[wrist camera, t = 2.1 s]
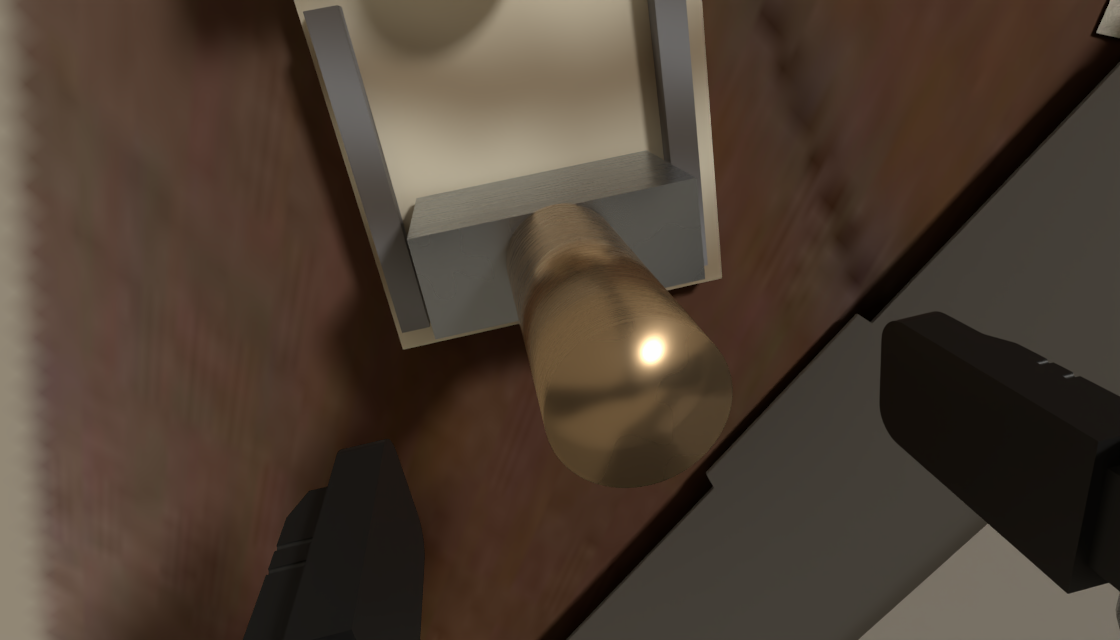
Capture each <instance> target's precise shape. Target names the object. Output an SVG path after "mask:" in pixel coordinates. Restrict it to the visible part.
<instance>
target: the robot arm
mask: <svg viewBox="0 0 1120 640" xmlns="http://www.w3.org/2000/svg"><path fill="white" fill-rule="evenodd" d="M879 407H880V413H881V418H882V421H883V423H884V426H885V428H886V430H887V432H888V433H889V435H890V436H891V438H892V439H893V440H894V441H895V442H896V443H897V444H898V445H899V446H900V447H901V448H903V449H904V450H905V451H906V452H907V453H908V454H909V455H910V456H912V457H913V458H914V459H915V460H916V461H917V462H918V463H920V464H921V465H922V466H923V467H924V468H925V469H926V470H927V471H929V472H930V473H931V474H932V475H933V476H934V477H935V478H937V479H938V480H939V481H940V482H941V483H942V484H943V485H945V486H946V487H947V488H948V489H949V490H950V491H951V492H952V493H954V494H955V495H956V496H957V497H958V498H959V499H960V500H962V501H963V502H964V503H965V504H966V505H967V506H968V507H969V508H971V509H972V510H973V511H974V512H975V513H976V514H977V515H979V516H980V517H981V518H982V519H983V520H984V521H985V522H987V523H988V524H989V525H990V526H991V527H992V528H993V529H994V530H996V531H997V532H998V533H999V534H1000V535H1001V536H1002V537H1004V538H1005V539H1006V540H1007V541H1008V542H1009V543H1010V544H1011V545H1013V546H1014V547H1015V548H1016V549H1017V550H1018V551H1019V552H1021V553H1022V554H1023V555H1024V556H1025V557H1026V558H1027V559H1029V560H1030V561H1031V562H1032V563H1033V564H1034V565H1035V566H1036V567H1038V568H1039V569H1040V570H1041V571H1042V572H1043V573H1044V574H1046V575H1047V576H1048V577H1049V578H1050V579H1051V580H1052V581H1053V582H1055V583H1056V584H1057V585H1058V586H1059V587H1060V588H1061V589H1063V590H1064V591H1065V592H1066V593H1067V594H1070V593H1074V592H1077V591H1081V590H1085V589H1088V588H1092V587H1096V586H1099V585H1103V584H1107V583H1110V584H1111V585H1112V586H1113V587H1115V588H1116V589H1117V590H1118V591H1119V592H1120V396H1118V395H1116V394H1114V393H1112V392H1110V391H1108V390H1106V389H1105V388H1103V387H1101V386H1099V385H1097V384H1095V383H1093V382H1091V381H1089V380H1087V379H1085V378H1083V377H1081V376H1078V377H1075V376H1074V374H1073V372H1072V371H1070V370H1068V369H1066V368H1064V367H1062V366H1060V365H1058V364H1056V363H1054V362H1052V363H1048V361H1047V359H1046V358H1044V357H1042V356H1041V355H1039V354H1037V353H1035V352H1033V351H1031V350H1029V349H1027V348H1025V347H1023V346H1021V345H1019V344H1017V343H1014V342H1011V341H1007V340H1004V339H1000V338H996V337H993V336H989V335H985V334H982V333H980V332H979V331H977V330H975V329H973V328H971V327H969V326H967V325H965V324H963V323H962V322H960V321H958V320H956V319H954V318H952V317H950V316H948V315H947V314H945V313H942V312H939V311H933V312H929V313H925V314H920V315H916V316H912V317H908V318H903V319H899V320H895V321H891V322H889V323H888V324H886V326H885V327H884V329H883V332H882V338H881V367H880V399H879ZM424 560H425V552H424V541H423V534H422V529H421V524H420V520H419V517H418V514H417V511H416V508H415V505H414V502H413V499H412V496H411V493H410V490H409V487H408V484H407V481H406V479H405V476H404V473H403V470H402V467H401V464H400V461H399V458H398V455H397V452H396V449H395V447H394V445H393V443H392V442H391V440H389V439H384V440H380V441H376V442H371V443H367V444H363V445H359V446H354V447H350V448H346V449H342V450H340V451H339V452H338V453H337V456H336V459H335V463H334V466H333V470H332V473H331V477H330V480H329V484H328V487H324V488H320V489H316V490H312V491H309V492H308V493H307V494H306V495H305V497H304V498H303V499H302V500H301V501H300V503H299V504H298V505H297V506H296V507H295V508H294V510H293V511H292V512H291V513H290V514H289V516H288V517H287V518H286V521H285V524H284V527H283V529H282V532H281V535H280V538H279V540H278V543H277V551H275V552H274V554H273V557H272V560H271V563H270V566H269V568H268V570H269V575H266V577H265V580H264V582H263V585H262V588H261V591H260V594H259V596H258V599H257V602H256V605H255V608H254V610H253V613H252V616H251V619H250V621H249V624H248V627H247V630H246V633H245V635H244V638H243V640H420V631H421V613H422V596H423V578H424ZM1116 617H1117V621H1118V625H1119V629H1120V593H1119V597H1118V601H1117V605H1116Z"/></svg>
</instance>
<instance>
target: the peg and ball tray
mask: <svg viewBox="0 0 1120 640" xmlns="http://www.w3.org/2000/svg"><path fill="white" fill-rule="evenodd" d="M294 2H295V6H296V9H297V12H298V15H299V18H300V22H301V25H302V28H303V31H304V34H305V38H306V41H307V44H308V47H309V50H310V54H311V57H312V60H313V63H314V66H315V70H316V73H317V76H318V79H319V82H320V86H321V89H322V92H323V95H324V98H325V102H326V105H327V108H328V111H329V114H330V118H331V121H332V124H333V127H334V130H335V134H336V137H337V140H338V143H339V146H340V150H341V153H342V156H343V159H344V162H345V166H346V169H347V172H348V175H349V178H350V182H351V185H352V188H353V191H354V194H355V198H356V201H357V204H358V207H359V210H360V214H361V217H362V220H363V223H364V226H365V230H366V233H367V236H368V239H369V242H370V246H371V249H372V252H373V255H374V258H375V262H376V265H377V268H378V271H379V274H380V278H381V281H382V284H383V287H384V290H385V294H386V297H387V300H388V303H389V306H390V310H391V313H392V316H393V319H394V322H395V326H396V329H397V332H398V335H399V338H400V342H401V345H402V348H403V350H404V349H409V348H413V347H418V346H422V345H427V344H431V343H435V342H440V341H444V340H449V339H453V338H458V337H462V336H467V335H471V334H476V333H480V332H484V331H489V330H493V329H498V328H502V327H507V326H511V325H516V324H520V323H519V321H516V322H511V323H507V324H502V325H498V326H493V327H489V328H484V329H480V330H475V331H471V332H467V333H462V334H458V335H453V336H449V337H444V338H440V339H435V336H434V333H433V329H432V326H431V322H430V319H429V315H428V312H427V308H426V305H425V301H424V298H423V294H422V291H421V287H420V284H419V280H418V277H417V273H416V270H415V266H414V263H413V259H412V256H411V252H410V249H409V245H408V242H407V237H408V232H409V228H410V224H411V220H412V215H413V211H414V207H415V202H416V198H420V197H425V196H430V195H434V194H439V193H444V192H449V191H454V190H458V189H463V188H468V187H473V186H478V185H482V184H487V183H492V182H497V181H502V180H506V179H511V178H516V177H521V176H526V175H530V174H535V173H540V172H545V171H550V170H554V169H559V168H564V167H569V166H574V165H578V164H583V163H588V162H593V161H598V160H602V159H607V158H612V157H617V156H622V155H626V154H631V153H636V152H641V151H646V150H647V151H649V152H650V153H652V154H654V155H656V156H658V157H659V158H661V159H663V160H665V161H667V162H669V163H670V164H672V165H674V166H676V167H678V168H680V169H681V170H683V171H685V172H687V173H689V174H691V175H692V176H694V177H696V178H697V187H698V199H699V211H700V222H701V234H702V246H703V258H704V270H705V279H703V280H698V281H694V282H689V283H685V284H681V285H676V286H672V287H667V288H665V289H666V290H671V289H676V288H680V287H685V286H689V285H694V284H698V283H703V282H707V281H711V280H716V279H720V278H722V270H721V256H720V242H719V229H718V215H717V201H716V187H715V174H714V160H713V146H712V133H711V119H710V105H709V91H708V78H707V64H706V50H705V37H704V23H703V9H702V0H294Z"/></svg>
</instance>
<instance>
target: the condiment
mask: <svg viewBox="0 0 1120 640" xmlns="http://www.w3.org/2000/svg"><path fill="white" fill-rule="evenodd" d="M1096 33H1099V34H1103V35H1107V36H1112V37H1116V38H1120V0H1110V2H1109V5H1108V7H1107V9H1106V12H1105V14H1104V16H1103V19H1102V21H1101V23H1100V25H1099V27H1098V30H1097V32H1096Z"/></svg>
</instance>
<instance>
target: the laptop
mask: <svg viewBox="0 0 1120 640" xmlns="http://www.w3.org/2000/svg"><path fill="white" fill-rule="evenodd" d="M933 311H939V312H942V313H945V314H947V315H948V316H950V317H952V318H954V319H956V320H958V321H960V322H962V323H963V324H965V325H967V326H969V327H971V328H973V329H975V330H977V331H979V332H980V333H982V334H985V335H989V336H993V337H996V338H1000V339H1004V340H1007V341H1011V342H1014V343H1017V344H1019V345H1021V346H1023V347H1025V348H1027V349H1029V350H1031V351H1033V352H1035V353H1037V354H1039V355H1041V356H1042V357H1044V358H1046V359H1047V361H1048V363H1052V362H1054V363H1056V364H1058V365H1060V366H1062V367H1064V368H1066V369H1068V370H1070V371H1072V372H1073V374H1074V376H1075V377H1078V376H1081V377H1083V378H1085V379H1087V380H1089V381H1091V382H1093V383H1095V384H1097V385H1099V386H1101V387H1103V388H1105V389H1106V390H1108V391H1110V392H1112V393H1114V394H1116V395H1118V396H1120V62H1119V63H1118V64H1117V65H1116V66H1115V67H1114V68H1113V69H1112V70H1111V71H1110V72H1109V73H1108V74H1107V75H1106V77H1105V78H1104V79H1103V80H1102V81H1101V82H1100V83H1099V84H1098V85H1097V86H1096V87H1095V88H1094V89H1093V90H1092V91H1091V92H1090V93H1089V94H1088V95H1087V96H1086V97H1085V98H1084V99H1083V101H1082V102H1081V103H1080V104H1079V105H1078V106H1077V107H1076V108H1075V109H1074V110H1073V111H1072V112H1071V113H1070V114H1069V115H1068V116H1067V117H1066V118H1065V119H1064V120H1063V121H1062V122H1061V123H1060V125H1059V126H1058V127H1057V128H1056V129H1055V130H1054V131H1053V132H1052V133H1051V134H1050V135H1049V136H1048V137H1047V138H1046V139H1045V140H1044V141H1043V142H1042V143H1041V144H1040V145H1039V146H1038V147H1037V149H1036V150H1035V151H1034V152H1033V153H1032V154H1031V155H1030V156H1029V157H1028V158H1027V159H1026V160H1025V161H1024V162H1023V163H1022V164H1021V165H1020V166H1019V167H1018V168H1017V169H1016V170H1015V171H1014V173H1013V174H1012V175H1011V176H1010V177H1009V178H1008V179H1007V180H1006V181H1005V182H1004V183H1003V184H1002V185H1001V186H1000V187H999V188H998V189H997V190H996V191H995V192H994V193H993V194H992V195H991V197H990V198H989V199H988V200H987V201H986V202H985V203H984V204H983V205H982V206H981V207H980V208H979V209H978V210H977V211H976V212H975V213H974V214H973V215H972V216H971V217H970V218H969V219H968V221H967V222H966V223H965V224H964V225H963V226H962V227H961V228H960V229H959V230H958V231H957V232H956V233H955V234H954V235H953V236H952V237H951V238H950V239H949V240H948V241H947V242H946V243H945V245H944V246H943V247H942V248H941V249H940V250H939V251H938V252H937V253H936V254H935V255H934V256H933V257H932V258H931V259H930V260H929V261H928V262H927V263H926V264H925V265H924V266H923V267H922V269H921V270H920V271H919V272H918V273H917V274H916V275H915V276H914V277H913V278H912V279H911V280H910V281H909V282H908V283H907V284H906V285H905V286H904V287H903V288H902V289H901V290H900V292H899V293H898V294H897V295H896V296H895V297H894V298H893V299H892V300H891V301H890V302H889V303H888V304H887V305H886V306H885V307H884V308H883V309H882V310H881V311H880V312H879V313H878V314H877V316H876V317H875V318H874V319H873V320H872V321H871V322H869V321H868V320H866V319H865V318H863V317H862V316H860V315H858V314H857V313H856V314H855V315H854V317H853V318H852V319H851V320H850V321H849V322H848V323H847V324H846V325H845V326H844V327H843V328H842V329H841V330H840V331H839V332H838V333H837V334H836V336H835V337H834V338H833V339H832V340H831V341H830V342H829V343H828V344H827V345H826V346H825V347H824V348H823V349H822V350H821V351H820V352H819V353H818V355H817V356H816V357H815V358H814V359H813V360H812V361H811V362H810V363H809V364H808V365H807V366H806V367H805V368H804V369H803V370H802V371H801V372H800V373H799V375H798V376H797V377H796V378H795V379H794V380H793V381H792V382H791V383H790V384H789V385H788V386H787V387H786V388H785V389H784V390H783V391H782V392H781V394H780V395H779V396H778V397H777V398H776V399H775V400H774V401H773V402H772V403H771V404H770V405H769V406H768V407H767V408H766V409H765V410H764V411H763V413H762V414H761V415H760V416H759V417H758V418H757V419H756V420H755V421H754V422H753V423H752V424H751V425H750V426H749V427H748V428H747V429H746V430H745V432H744V433H743V434H742V435H741V436H740V437H739V438H738V439H737V440H736V441H735V442H734V443H733V444H732V445H731V446H730V447H729V448H728V449H727V450H726V452H725V453H724V454H723V455H722V456H721V457H720V458H719V459H718V460H717V461H716V462H715V463H714V464H713V465H712V466H711V467H710V468H709V469H708V471H707V472H706V475H707V477H708V478H709V480H710V482H711V483H712V485H713V487H712V488H711V489H710V490H709V491H708V492H707V493H706V494H705V495H704V496H703V497H702V498H701V499H700V500H699V501H698V502H697V503H696V504H695V505H694V506H693V508H692V509H691V510H690V511H689V512H688V513H687V514H686V515H685V516H684V517H683V518H682V519H681V520H680V521H679V522H678V523H677V524H676V525H675V526H674V527H673V528H672V529H671V531H670V532H669V533H668V534H667V535H666V536H665V537H664V538H663V539H662V540H661V541H660V542H659V543H658V544H657V545H656V546H655V547H654V548H653V549H652V550H651V551H650V552H649V553H648V555H647V556H646V557H645V558H644V559H643V560H642V561H641V562H640V563H639V564H638V565H637V566H636V567H635V568H634V569H633V570H632V571H631V572H630V573H629V574H628V575H627V576H626V577H625V579H624V580H623V581H622V582H621V583H620V584H619V585H618V586H617V587H616V588H615V589H614V590H613V591H612V592H611V593H610V594H609V595H608V596H607V597H606V598H605V599H604V600H603V601H602V603H601V604H600V605H599V606H598V607H597V608H596V609H595V610H594V611H593V612H592V613H591V614H590V615H589V616H588V617H587V618H586V619H585V620H584V621H583V622H582V623H581V624H580V625H579V627H578V628H577V629H576V630H575V631H574V632H573V633H572V634H571V635H570V636H569V637H568V638H567V639H566V640H1120V629H1119V625H1118V621H1117V617H1116V605H1117V601H1118V597H1119V593H1120V592H1119V591H1118V590H1117V589H1116V588H1115V587H1113V586H1112V585H1111V584H1110V583H1107V584H1103V585H1099V586H1096V587H1092V588H1088V589H1085V590H1081V591H1077V592H1074V593H1070V594H1067V593H1066V592H1065V591H1064V590H1063V589H1061V588H1060V587H1059V586H1058V585H1057V584H1056V583H1055V582H1053V581H1052V580H1051V579H1050V578H1049V577H1048V576H1047V575H1046V574H1044V573H1043V572H1042V571H1041V570H1040V569H1039V568H1038V567H1036V566H1035V565H1034V564H1033V563H1032V562H1031V561H1030V560H1029V559H1027V558H1026V557H1025V556H1024V555H1023V554H1022V553H1021V552H1019V551H1018V550H1017V549H1016V548H1015V547H1014V546H1013V545H1011V544H1010V543H1009V542H1008V541H1007V540H1006V539H1005V538H1004V537H1002V536H1001V535H1000V534H999V533H998V532H997V531H996V530H994V529H993V528H992V527H991V526H990V525H989V524H988V523H987V522H985V521H984V520H983V519H982V518H981V517H980V516H979V515H977V514H976V513H975V512H974V511H973V510H972V509H971V508H969V507H968V506H967V505H966V504H965V503H964V502H963V501H962V500H960V499H959V498H958V497H957V496H956V495H955V494H954V493H952V492H951V491H950V490H949V489H948V488H947V487H946V486H945V485H943V484H942V483H941V482H940V481H939V480H938V479H937V478H935V477H934V476H933V475H932V474H931V473H930V472H929V471H927V470H926V469H925V468H924V467H923V466H922V465H921V464H920V463H918V462H917V461H916V460H915V459H914V458H913V457H912V456H910V455H909V454H908V453H907V452H906V451H905V450H904V449H903V448H901V447H900V446H899V445H898V444H897V443H896V442H895V441H894V440H893V439H892V438H891V436H890V435H889V433H888V432H887V430H886V428H885V426H884V423H883V421H882V418H881V413H880V407H879V399H880V367H881V338H882V332H883V329H884V327H885V326H886V324H888V323H889V322H891V321H895V320H899V319H903V318H908V317H912V316H916V315H920V314H925V313H929V312H933Z"/></svg>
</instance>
